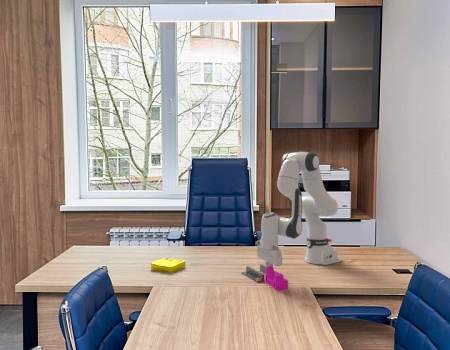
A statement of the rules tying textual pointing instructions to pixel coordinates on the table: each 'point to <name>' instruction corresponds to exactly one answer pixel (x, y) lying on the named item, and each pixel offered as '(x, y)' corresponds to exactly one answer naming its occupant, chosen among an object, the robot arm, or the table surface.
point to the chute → (256, 273)
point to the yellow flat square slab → (168, 265)
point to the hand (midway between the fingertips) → (269, 270)
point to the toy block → (275, 279)
